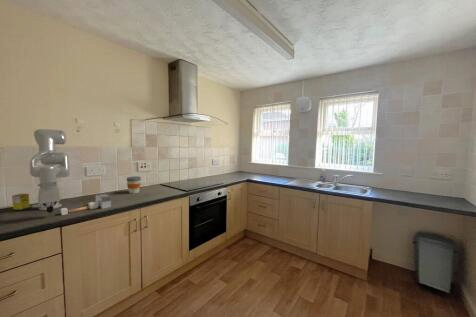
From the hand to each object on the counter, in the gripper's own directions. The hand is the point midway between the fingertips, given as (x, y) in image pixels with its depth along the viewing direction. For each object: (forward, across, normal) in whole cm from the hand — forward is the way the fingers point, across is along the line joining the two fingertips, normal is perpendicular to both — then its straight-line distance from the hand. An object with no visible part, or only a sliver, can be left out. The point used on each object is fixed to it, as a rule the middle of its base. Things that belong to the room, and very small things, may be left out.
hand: (50, 212), depth 130 cm
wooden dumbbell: (+3, +17, +1) cm, 17 cm away
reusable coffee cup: (+2, +66, +27) cm, 71 cm away
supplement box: (+2, -10, +35) cm, 37 cm away
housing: (+3, +31, +1) cm, 31 cm away
